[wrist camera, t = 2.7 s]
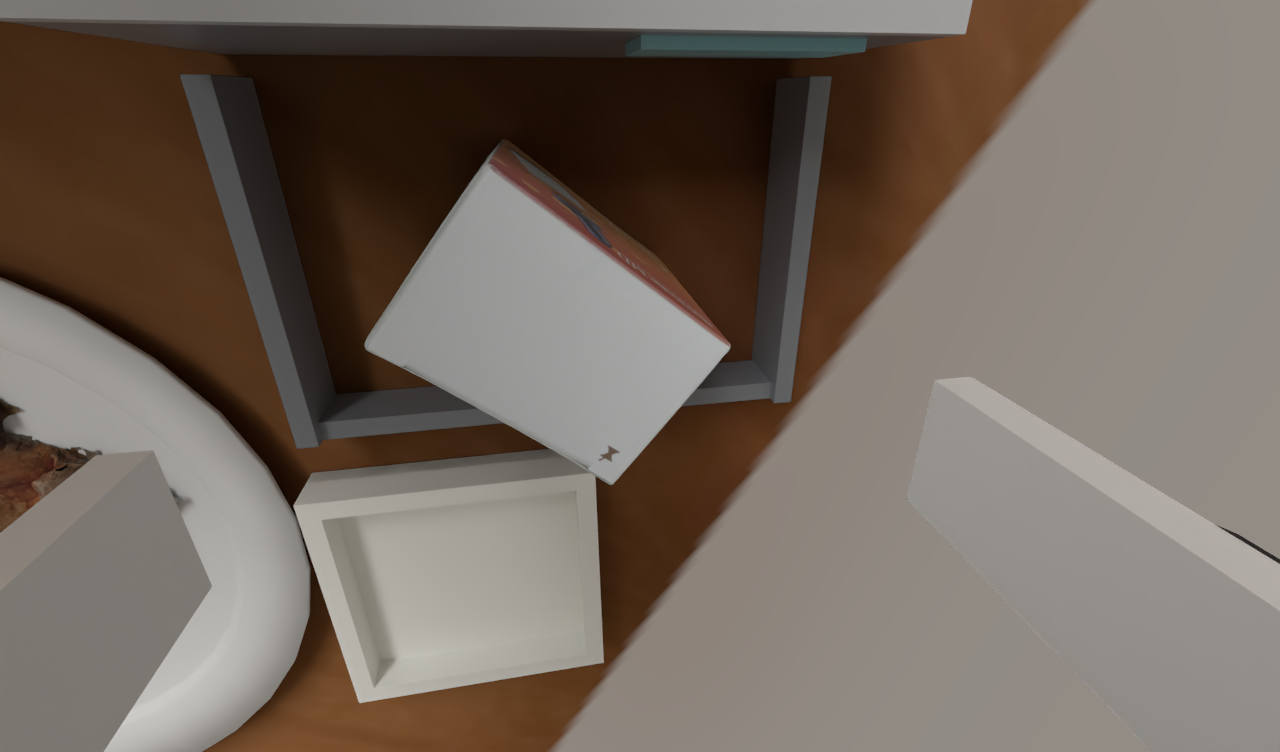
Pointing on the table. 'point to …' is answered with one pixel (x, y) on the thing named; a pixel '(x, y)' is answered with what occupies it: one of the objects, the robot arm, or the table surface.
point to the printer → (494, 27)
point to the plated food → (202, 488)
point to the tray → (457, 569)
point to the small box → (549, 319)
